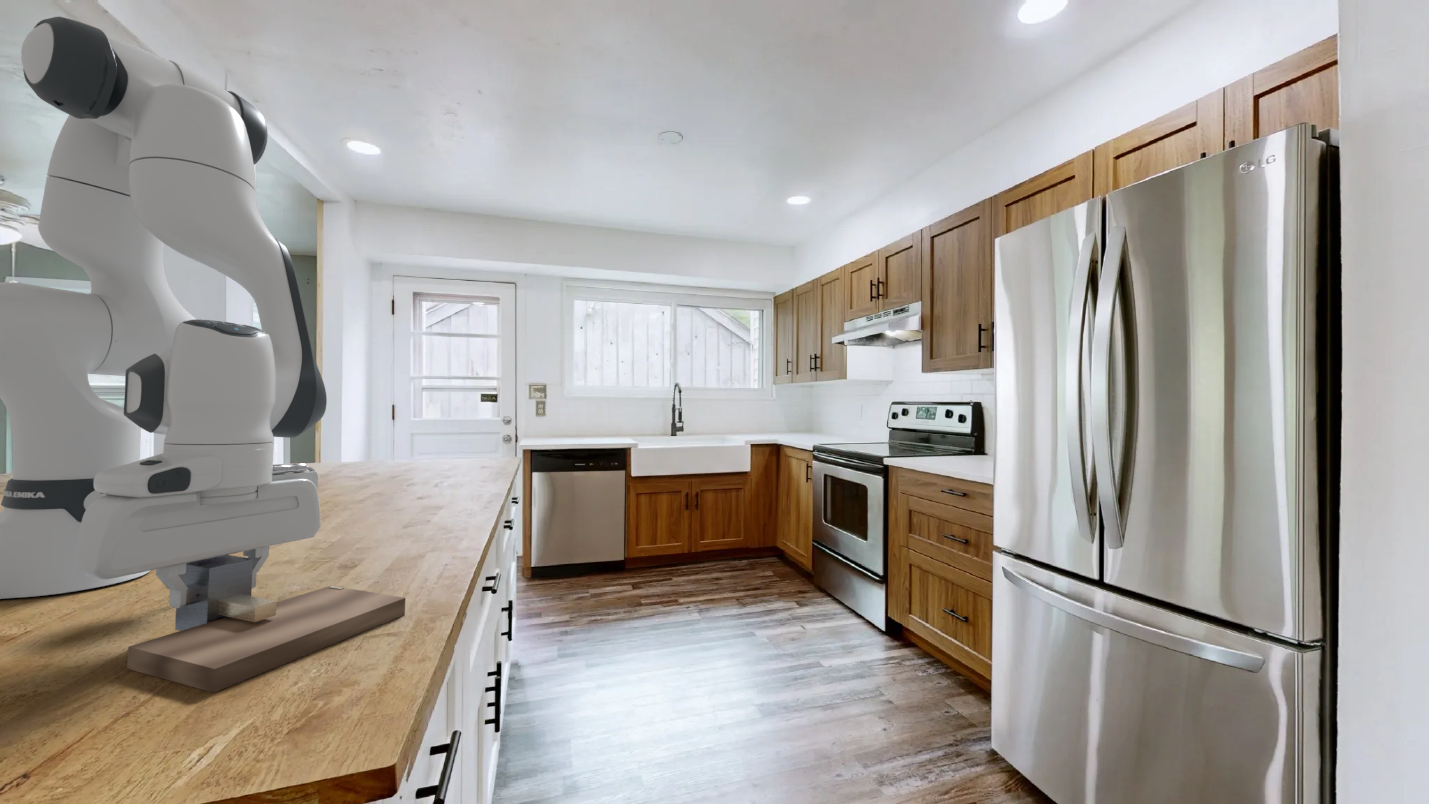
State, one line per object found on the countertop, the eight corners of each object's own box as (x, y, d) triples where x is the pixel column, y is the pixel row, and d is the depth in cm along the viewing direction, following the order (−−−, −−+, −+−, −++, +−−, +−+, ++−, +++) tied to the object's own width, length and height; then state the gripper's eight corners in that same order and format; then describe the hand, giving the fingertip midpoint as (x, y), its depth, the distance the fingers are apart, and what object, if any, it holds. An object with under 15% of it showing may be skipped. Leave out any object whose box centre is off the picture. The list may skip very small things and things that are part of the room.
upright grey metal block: (175, 629, 57) (178, 563, 57) (219, 616, 61) (222, 554, 61) (242, 645, 54) (245, 574, 54) (285, 629, 57) (288, 564, 58)
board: (127, 668, 49) (128, 645, 49) (330, 601, 67) (331, 584, 68) (213, 692, 46) (214, 667, 46) (404, 614, 64) (405, 596, 64)
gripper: (300, 460, 69) (295, 568, 69) (69, 476, 50) (61, 627, 50) (335, 463, 67) (331, 574, 67) (109, 481, 48) (101, 637, 48)
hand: (214, 597), depth 58 cm, fingers closed on upright grey metal block, 4 cm apart
